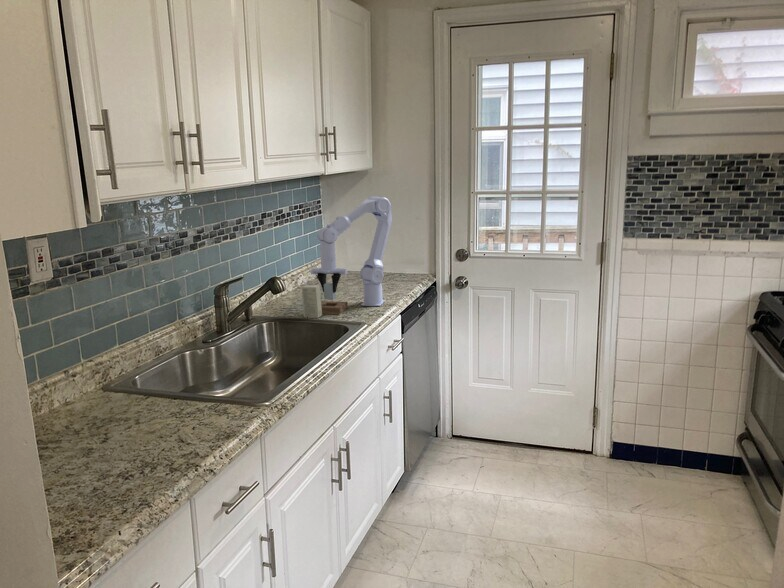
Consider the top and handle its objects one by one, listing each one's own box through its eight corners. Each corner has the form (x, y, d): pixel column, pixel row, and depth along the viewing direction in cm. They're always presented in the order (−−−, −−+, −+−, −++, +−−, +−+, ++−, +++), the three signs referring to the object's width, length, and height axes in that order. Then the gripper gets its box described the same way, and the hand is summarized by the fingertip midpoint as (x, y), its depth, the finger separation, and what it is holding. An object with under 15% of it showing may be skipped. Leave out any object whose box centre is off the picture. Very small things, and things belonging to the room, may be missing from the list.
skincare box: (322, 315, 250) (320, 284, 247) (318, 318, 245) (316, 287, 243) (307, 314, 251) (305, 284, 249) (302, 317, 247) (301, 286, 245)
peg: (327, 297, 258) (326, 282, 257) (335, 297, 257) (334, 283, 256) (324, 299, 255) (323, 284, 253) (332, 299, 254) (332, 284, 253)
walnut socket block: (322, 307, 263) (321, 301, 263) (347, 307, 261) (347, 301, 260) (312, 313, 253) (312, 307, 252) (339, 314, 251) (339, 308, 250)
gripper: (307, 259, 250) (308, 293, 253) (342, 259, 247) (344, 294, 250) (313, 256, 257) (314, 290, 260) (348, 257, 254) (349, 290, 257)
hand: (329, 292), depth 255 cm, fingers closed on peg, 3 cm apart
